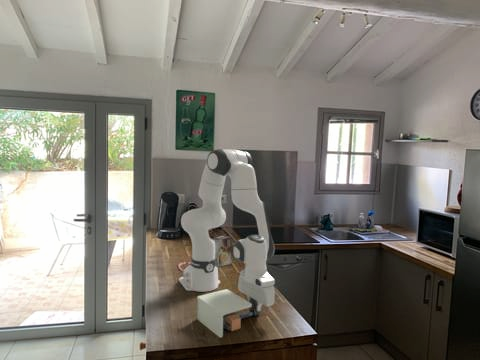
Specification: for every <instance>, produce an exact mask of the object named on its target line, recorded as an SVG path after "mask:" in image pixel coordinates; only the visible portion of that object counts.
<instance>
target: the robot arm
mask: <svg viewBox="0 0 480 360" xmlns="http://www.w3.org/2000/svg"><path fill="white" fill-rule="evenodd" d="M252 165H253V159H252V156H251V154H250V153H249V152H247V151H245V150H243V149H241V150H239V149H235V148H228V149H227V148H225V149H221V148H217V149H213V150H211V151H210V152H209V153H208V155H207V159H206V164H205V166H204V169H203V171H202V176H201V179H200V183H199V188H198V191H197V192H198V193H197V194H198V197H199V198H200V199H201V200H202V206H201V207H199V208H193V209H190V210H187V211H186V212H184V213H183V214H182V216H181V218H180V224H181V225H180V226H181V227H182V229H183V230H184V232H186V233H187V235H189V237H190V241H191V246H192V247H191V248H192V249H191V250H192V257H191V256H190V259H189V260H190V262H189V263H190V265H189V264H188V266H187V267H186V268H184V269H183V270H184V272H182V276H181V277H179V279H178V282H179V283H180V284H181V286H182V287H183V288H184V289H185V290H186V291H189V292H190V291H193V292H194V291H195V292H200V293H201V292H211V291H214V290H217V289H218V287H219V285H220V284H221V280H219V271H218V270H219V267H218V266H216V258H215V242H214V240H213V238H211V237H210V235H209V234H210V233H209V230H213V229H216V228H219V227H220V226H222V225H223V224H225V222H226V219H227V214H226V211H225V209H224V208H223V207H222V195H223V191H224V187H225V182H226V178H227V176H228V177H229V178H230V191H231V194H230V196H231V200H232V201H231V202H232V203H233V204H234V206H235V207H236V208H237V209H240V210H241V211H244V212H246V213H249V214H251V215H253V216H254V218H255V220H256V225H257V230H258V234H250V235H248V236H246V238H243V239H238V240H236V241H235V242H234V244H233V246H232V256H233V258H234V259H235V261H237V262H239V263H244V265H245V266H244V269H242V270H240V271H239V272H240V273H239V276H238V282H237V289H238V291H239V292H240V293H243V294H244V295H246V298H247V301H248V302H250V299H251V298H253V299H254V300H256V301H257V303H258V305H257V306H255V310H257V311H260V312H261V310H262V306H265V307H270V306H273V305H274V303H275V299H276V298H275V296H276V293H275V291H276V290H275V287H274V285H275V284H276V280H275V278H274V277H273V276H271V274H269V272H268V271H267V269H268V267H267V261H270V260H271V259H272V258H273V256H274V255H275V253H276V252H275V251H276V247H275V243H274V240H273V236H272V233H271V227H270V222H269V217H268V213H267V212H268V211H267V207H266V205H265V202H264V201H262V200H261V199H260V196H259V195H258V194H259V193H258V186H257V185H258V184H257V177H256V170H255V168H254V167H253V166H252Z"/></svg>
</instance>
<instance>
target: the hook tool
mask: <svg viewBox="0 0 480 360" xmlns="http://www.w3.org/2000/svg"><path fill="white" fill-rule="evenodd" d="M250 303H251V304H252V307H249V309H248V310H244V311H242V312H238V313H235V314H236V315H237V316H238V317H240V318H241V320H242V319H246V318H249V317H252V316H253V317H255V316H258V315H260V313H261V311H257V310H255V306H257V305H258V303H257V301H256V300H254V299H253V298H251V299H250ZM223 329H225V330H227V331H231V330H232V326H231V325H230V324H229V323H227V322H226V316H225V317H224V316H223Z"/></svg>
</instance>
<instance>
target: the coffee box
mask: <svg viewBox="0 0 480 360" xmlns="http://www.w3.org/2000/svg"><path fill="white" fill-rule="evenodd" d="M212 239H213V240H214V242H215V258H216V267H217V268H219V267H224V266H228V265H231V264H232V237H231V236H228V235H220V236H213V237H212Z"/></svg>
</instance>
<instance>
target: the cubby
mask: <svg viewBox="0 0 480 360" xmlns="http://www.w3.org/2000/svg"><path fill="white" fill-rule="evenodd" d="M250 307H252V304H251V303H250V302H249V301H248V300H246V299H244V298H243V297H242V296H239V295H237V294H236V293H235V292H233V291H231V290H229V289H227V288H225V289H222V290H218V291H217V290H216V291H214V292H209V293H206V294H202V295H198V296H197V297H196V320H198V321H199V323H201V324H202V325H204V327H207V329H209V331H211V332H212V333H214V334H215V335H216V336H217V337H218V338H220V339H221V338H223V336H224V327H223V318H224V316H226V315H229V314H232V313H235V312H239V311H242V310H245V309H248V308H249V309H250Z"/></svg>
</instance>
